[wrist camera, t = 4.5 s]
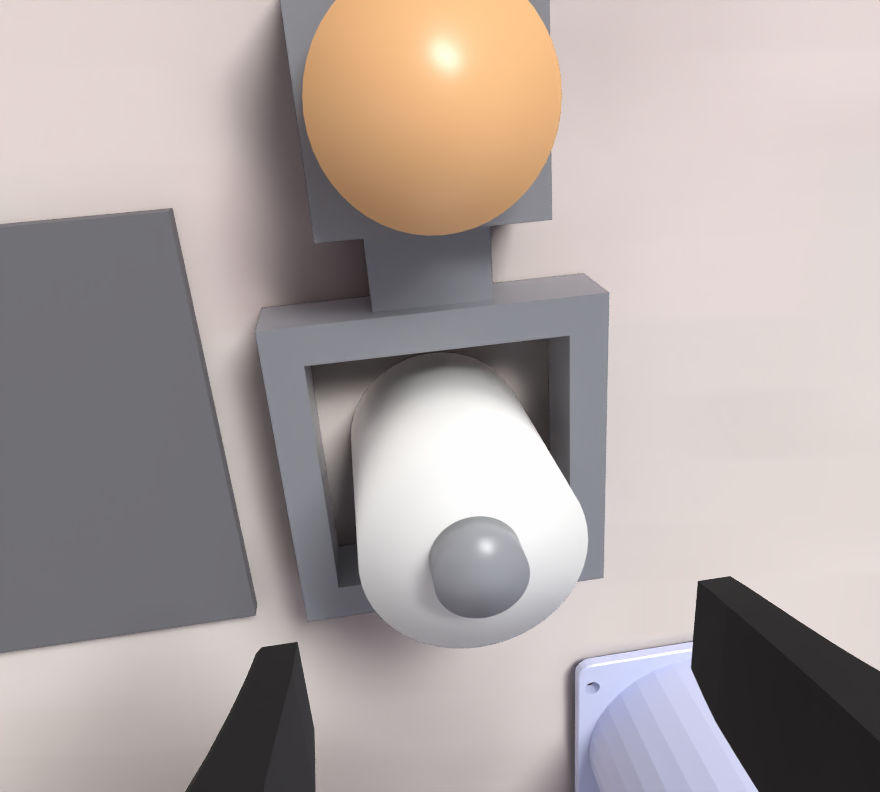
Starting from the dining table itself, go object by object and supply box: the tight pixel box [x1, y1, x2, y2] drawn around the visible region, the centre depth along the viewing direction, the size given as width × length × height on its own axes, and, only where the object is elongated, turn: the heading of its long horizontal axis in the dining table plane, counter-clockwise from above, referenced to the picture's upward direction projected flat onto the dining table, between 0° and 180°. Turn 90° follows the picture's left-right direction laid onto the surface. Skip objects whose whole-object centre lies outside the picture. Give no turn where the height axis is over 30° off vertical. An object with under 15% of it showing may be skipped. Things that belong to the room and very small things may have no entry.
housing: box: [255, 0, 609, 622], centre depth 18 cm, size 16×9×3 cm, turn 4°
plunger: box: [302, 0, 562, 236], centre depth 15 cm, size 5×5×4 cm
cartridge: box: [351, 353, 588, 648], centre depth 18 cm, size 5×5×7 cm
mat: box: [0, 208, 257, 653], centre depth 20 cm, size 12×8×1 cm, turn 4°
